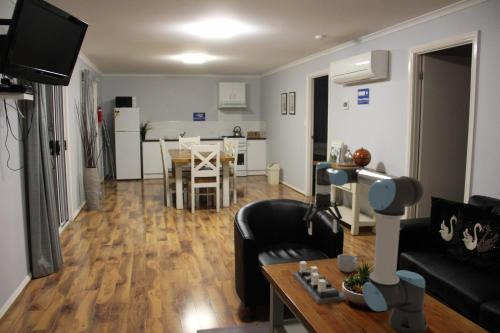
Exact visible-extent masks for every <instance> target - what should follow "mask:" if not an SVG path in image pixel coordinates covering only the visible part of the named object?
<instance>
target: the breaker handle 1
mask: <svg viewBox="0 0 500 333" xmlns="http://www.w3.org/2000/svg"><path fill="white" fill-rule="evenodd" d="M307 266H308V264H307V262H306V260H302V261H299V270H300V271H301V272H302V273H303V272H307V269H308V268H307Z"/></svg>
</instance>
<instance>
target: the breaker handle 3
mask: <svg viewBox="0 0 500 333" xmlns="http://www.w3.org/2000/svg"><path fill="white" fill-rule="evenodd" d="M318 279H319V274H318V273H311V283H312V284H313V285H318Z"/></svg>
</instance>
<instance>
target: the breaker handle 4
mask: <svg viewBox="0 0 500 333" xmlns="http://www.w3.org/2000/svg"><path fill="white" fill-rule="evenodd" d="M318 290H319V291H320V292H325V291H326V281H325V280H324V279H318Z"/></svg>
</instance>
